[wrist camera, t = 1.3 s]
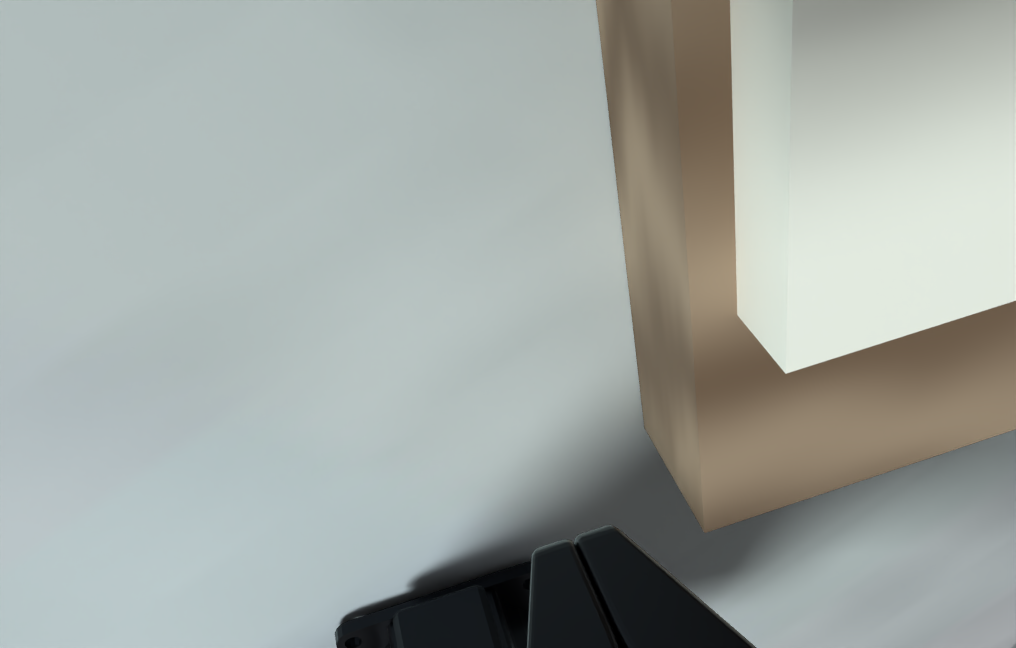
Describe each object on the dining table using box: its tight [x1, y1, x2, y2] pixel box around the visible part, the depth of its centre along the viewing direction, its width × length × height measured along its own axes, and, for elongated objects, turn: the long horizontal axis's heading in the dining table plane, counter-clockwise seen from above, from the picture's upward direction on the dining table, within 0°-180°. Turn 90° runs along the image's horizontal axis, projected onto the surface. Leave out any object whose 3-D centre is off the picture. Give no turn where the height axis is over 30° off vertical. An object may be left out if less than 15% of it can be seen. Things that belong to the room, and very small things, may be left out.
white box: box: [730, 0, 1016, 374], centre depth 15 cm, size 9×6×2 cm, turn 10°
